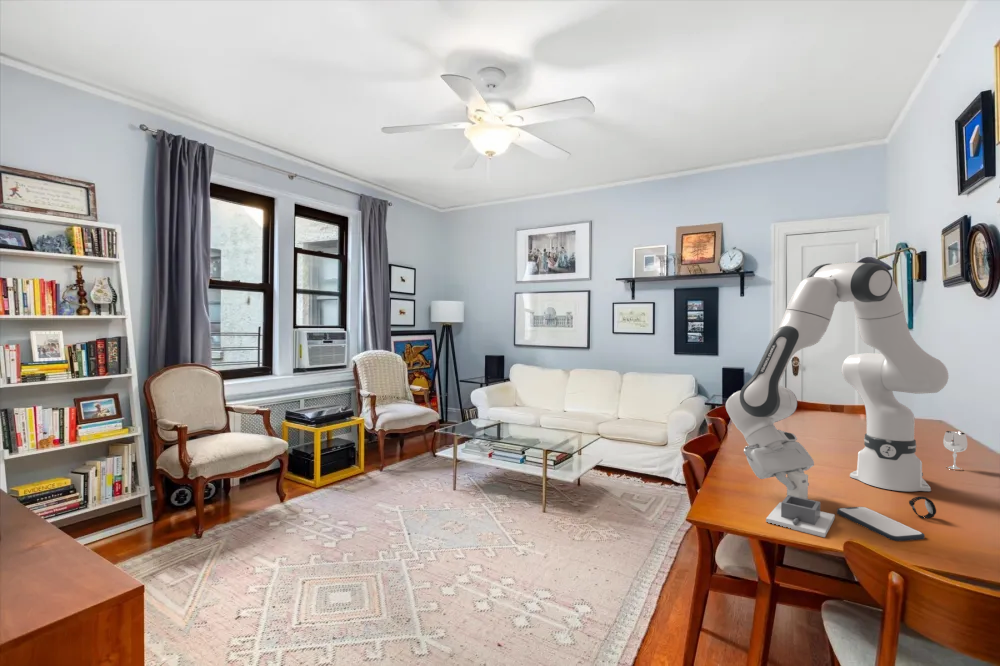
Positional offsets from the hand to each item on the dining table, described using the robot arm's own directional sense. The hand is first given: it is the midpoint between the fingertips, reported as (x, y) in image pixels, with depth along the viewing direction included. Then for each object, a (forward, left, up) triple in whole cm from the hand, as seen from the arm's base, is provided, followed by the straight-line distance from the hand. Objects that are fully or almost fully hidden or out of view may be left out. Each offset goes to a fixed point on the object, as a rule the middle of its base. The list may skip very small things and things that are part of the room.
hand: (799, 487), depth 128 cm
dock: (+12, +2, -4) cm, 13 cm away
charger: (0, -1, -4) cm, 4 cm away
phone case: (+2, +17, -5) cm, 18 cm away
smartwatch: (-11, +24, -5) cm, 27 cm away
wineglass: (-69, +31, -5) cm, 76 cm away
